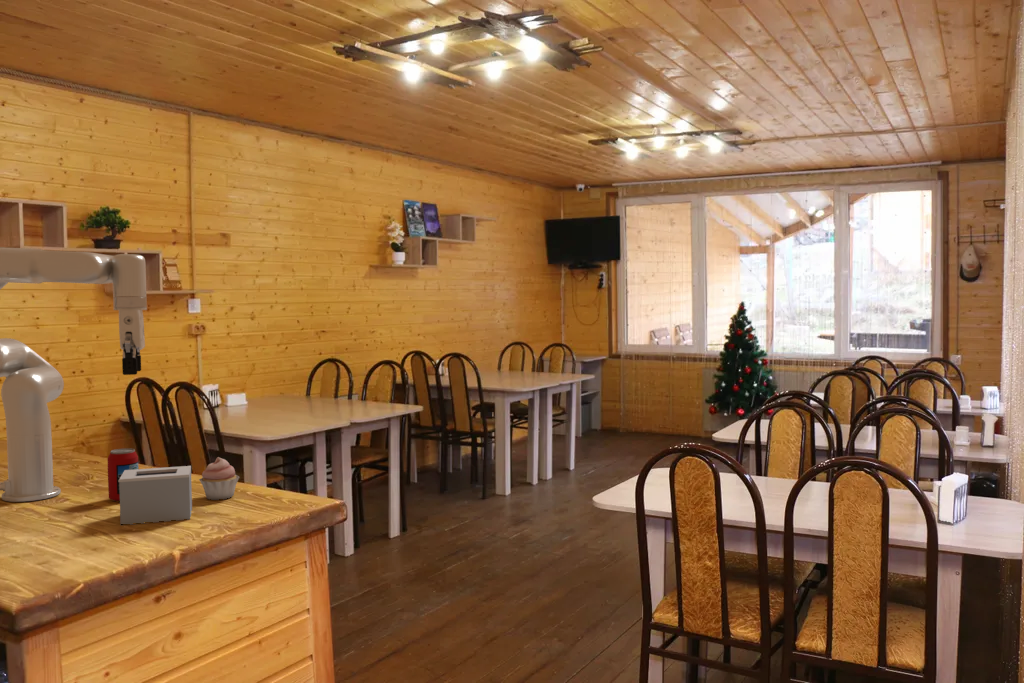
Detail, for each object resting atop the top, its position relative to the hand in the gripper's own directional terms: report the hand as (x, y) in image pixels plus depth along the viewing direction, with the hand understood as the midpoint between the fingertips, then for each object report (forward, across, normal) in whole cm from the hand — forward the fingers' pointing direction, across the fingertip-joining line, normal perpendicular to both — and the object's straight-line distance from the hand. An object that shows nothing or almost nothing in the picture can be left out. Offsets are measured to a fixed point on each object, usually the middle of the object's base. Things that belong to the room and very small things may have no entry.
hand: (132, 372), depth 203 cm
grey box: (+30, -26, -7) cm, 41 cm away
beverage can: (+31, -6, +2) cm, 31 cm away
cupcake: (+31, -12, -20) cm, 38 cm away
